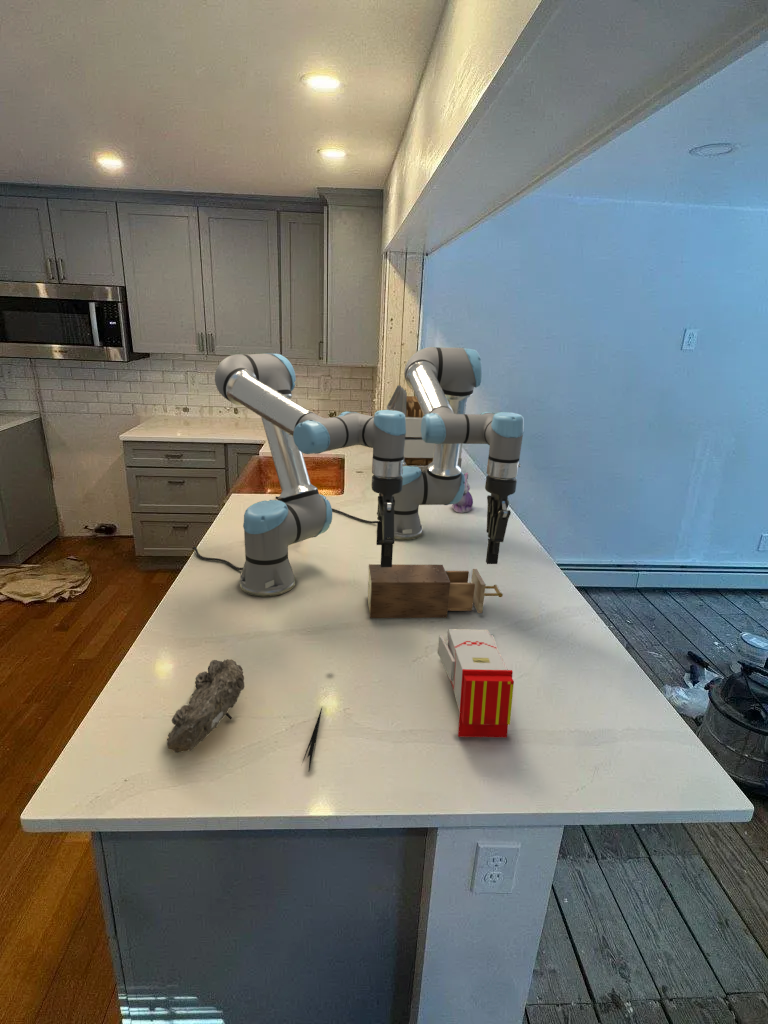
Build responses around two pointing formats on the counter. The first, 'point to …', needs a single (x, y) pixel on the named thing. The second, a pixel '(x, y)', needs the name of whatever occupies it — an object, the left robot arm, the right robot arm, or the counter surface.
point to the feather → (313, 740)
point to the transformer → (413, 430)
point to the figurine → (464, 499)
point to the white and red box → (478, 682)
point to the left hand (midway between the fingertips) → (383, 555)
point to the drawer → (468, 591)
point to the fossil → (206, 705)
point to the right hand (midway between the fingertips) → (491, 562)
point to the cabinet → (408, 591)
